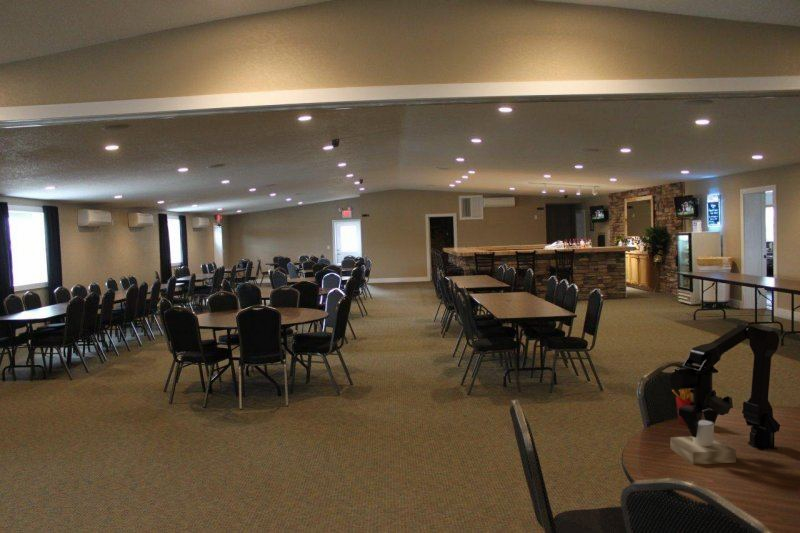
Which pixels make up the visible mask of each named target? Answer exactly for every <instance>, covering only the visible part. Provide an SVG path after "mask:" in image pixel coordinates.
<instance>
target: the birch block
mask: <svg viewBox="0 0 800 533" xmlns="http://www.w3.org/2000/svg"><path fill="white" fill-rule="evenodd" d="M669 439H670V448H669V449H670V450H672V451H673V452H674V453H675V454H677V455H678V456H680V457H682V458H683V459H684V460H686V461H687V462H689V463H690V464H692V465H710V464H711V465H712V464H727V463H731V464H732V463H734V464H735V463H737V450H736V449H735V448H733V447H731V446H730V445H729V444H726V443H724V442H722V441H721V440H719V439H717V438H715V437H714V436H713V445H712V446H698V445H695V444H694V442H693V436H692V435H691V436H690V435H689V436H673V437H671V436H670V438H669Z"/></svg>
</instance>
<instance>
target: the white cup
mask: <svg viewBox="0 0 800 533" xmlns="http://www.w3.org/2000/svg"><path fill="white" fill-rule="evenodd" d="M714 430H715V424H714V423H713V422H711V421H708V420H705V419H702V420H701V421H699V422H698V430H697V437H693V442H694V444H695V445H698V446H712V445H713V437H714V433H715V432H714Z"/></svg>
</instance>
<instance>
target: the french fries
mask: <svg viewBox="0 0 800 533" xmlns="http://www.w3.org/2000/svg"><path fill="white" fill-rule="evenodd" d="M690 389H692V388H690ZM690 389H681V390H678V392H679V394H680V395H679V394H678V393H677V392H676V391H675V389H672V390H671V392H672V393H673V394H674V395H675V403H676V412H677V413H678V409H679V408H680V407H682V406H686V405H688V406H692V407H694V406H693V405H690V402H691V401H693V393H691V392H690ZM677 421H678V424H681V425H683V426H686V427H688V426H687V425H686V423H685V421H684V419H683V418H681V416H679V415H678V414H677Z"/></svg>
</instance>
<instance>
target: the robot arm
mask: <svg viewBox="0 0 800 533" xmlns="http://www.w3.org/2000/svg"><path fill="white" fill-rule="evenodd" d="M746 340H749V347H750V349H751V351H752V354H753V365H752V376H751V377H752V378H751V389H750V390H751V391H750V397H749V399H748V400H747V401H745V400H744V401H743V402H742V411H741V413H742V416H743V419H744V420H745V423H746V426H748V427H750V431H749V441H747V444H748V445H750V446H752V447H754V448H756V449H757V450H760V451H761V450H778V449H779V447H778V446H776V445H775V434H776V433H777V432H779V431H780V428H781V424H780V423H779V422H778V421H777V420H776V419H775V418H774V409H773V406H772V405H771V403H770V401H769V391H770V379H771V366H772V357H773V356H774V355H775V354H776V352H777V351H778V349H779V344H780V335H779V334H778V333H777V332H776V331H775V330H769V329H765V328H759V327H755V326H753V325H749V324H746V323H738V324H736V326H735V327H733V328H732V329H731V330H728V331H727V332H726V333H725V334H723V335H721V336H720V337H719V336H718V338H716V339H714V340H713V341H712V342H709V343H704V344H703V343H702V344H699V345H697V346H695V347H692V348H691V349H690V351H689V354H688V356H687V357H686V358H685V361H684V363H683V364H682V365H681V366H682V367H681V368H680V367H675V368H674V371H673V372H672V373H671V375H670V376H669V381H670V385H671V387H672V388H673V390H677V391H679V390H681V389H690V388H691V389H690V392H691V393H693V401H691V402H690V405H693V406H694V407H692V406H688V405H686V406H682V407H680V408H679V409H678V412H677V416H678V415H679V416H681V418H683V419H684V421H685V423H686V425H687V426H686V427H687V428H688V431H689V432H690V434H691V436H693V437H697V430H698V422H699V421H701V420H708V421H711V422H713V423H714V425H715V424H716V422H717V418H718V416H724V415H726V414H727V415H728V414H729V413H730V410H731V409H732V408H734V406H733V405H734V404H733V398H732V397H731V396H729V395H727V396H725V397H722V396H720V397H719V396H718V395H717V392H716V389H715V390H714V389H713V374H717V373H719V370H718V369H717V368H715V365H716V364H717V363H719V361H721V358H722V355H724V354H725V353H727V352H729V351H730V350H731V349H733V348H735V347H736V346H738V345H739V344H741V343H742V342H744V341H746ZM691 393H690V394H691ZM703 417H704V418H703Z"/></svg>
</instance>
